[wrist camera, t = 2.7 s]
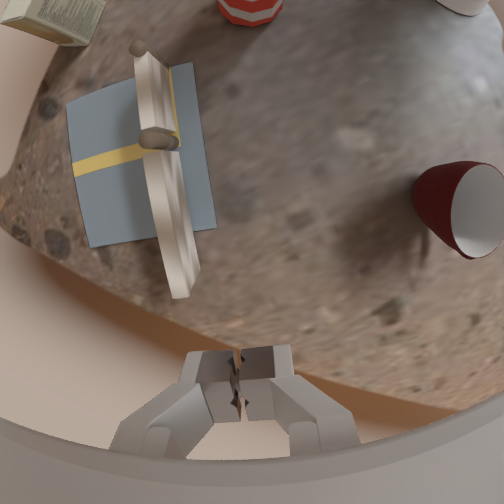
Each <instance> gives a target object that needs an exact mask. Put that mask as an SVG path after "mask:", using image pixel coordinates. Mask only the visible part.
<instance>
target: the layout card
mask: <svg viewBox="0 0 504 504" xmlns="http://www.w3.org/2000/svg"><path fill="white" fill-rule="evenodd" d="M168 73H169V82H170V90H171V99H172V106H173V114H174V121H175V128H176V132H172V133H168V134H167V135H171V136H175V137H177V138H178V140H179V145H178V147H177V148H176V149H175V150H160V149H143V148H142V147H140V145H139V143H138V138H139V136H140V134H141V133H142V132H144V131H145V130H141V125H140V117H139V109H138V100H137V90H136V80H135V77H134V78H131V79H128V80H125V81H122V82H119V83H116V84H113V85H110V86H108V87H105V88H102V89H100V90H97V91H94V92H92V93H89V94H87V95H85V96H82V97H80V98H78V99H75V100H73V101H71V102H68V103H66V110H67V122H68V133H69V142H70V150H71V157H72V166H73V172H74V177H75V182H76V188H77V193H78V198H79V203H80V208H81V213H82V217H83V221H84V226H85V230H86V234H87V238H88V242H89V246H90V248H93V247H99V246H104V245H110V244H116V243H122V242H128V241H134V240H140V239H147V238H153V237H158V236H157V232H156V227H155V222H154V218H153V213H152V208H151V203H150V197H149V192H148V187H147V181H146V175H145V169H144V163H143V157H142V155H143V154H147V153H151V152H155V151H175V152H179V155H180V162H181V168H182V174H183V180H184V186H185V192H186V197H187V203H188V209H189V214H190V219H191V225H192V230H193V231H199V230H206V229H213V228H217V221H216V215H215V209H214V203H213V197H212V191H211V185H210V178H209V172H208V166H207V159H206V153H205V146H204V140H203V133H202V126H201V119H200V112H199V105H198V98H197V90H196V83H195V75H194V67H193V62H189V63H185V64H180V65H176V66H172V67H169V71H168Z"/></svg>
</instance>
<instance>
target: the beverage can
mask: <svg viewBox="0 0 504 504" xmlns="http://www.w3.org/2000/svg"><path fill="white" fill-rule="evenodd" d="M217 3H218V7H219V10H220V13H221V14H222V15H223V16H225V17H226V18H227V19H228V20H229V21H230V22H231V23H233V24H239V25H245V26H250V27H254V26H257V25H260V24H263V23H267V22H270V21H272V20H273V19H274V17H275V16H276V15H277V14H278V13H279V11H280V10H281V9H282V3H283V0H217Z"/></svg>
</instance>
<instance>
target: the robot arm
mask: <svg viewBox="0 0 504 504" xmlns="http://www.w3.org/2000/svg"><path fill="white" fill-rule="evenodd" d="M437 1H438V2H439V3H441V4H442V5H444V6H446V7H447V8H449V9H451V10H453V11H455V12H457V13H460V14H463V15H468V16H473V15H477V14H479V13H480V12H481V10H482V9H483V7H484V6H485V5H486V4H487V3H488V2H489V1H490V0H437ZM241 360H242V364H241V365H240V369H238V368H237V355H236V351H235V350H234V349H231V350H212V351H194V352H193V351H192V352H189V353H188V354H187V356H186V359H185V362H184V365H183V368H182V371H181V374H180V377H179V380H178V383H177V384H172V385H171V386H169V387H168V388H167V389H165V390H164V391H163V392H161V393H160V394H159V395H157V396H156V397H155V398H153V399H152V400H151V401H149V402H148V403H146V404H145V405H144V406H142V407H141V408H140V409H138V410H137V411H135V412H134V413H133V414H131V415H130V416H128V417H127V418H126V419H124V420H123V421H121V422H120V424H119V427H118V429H117V431H116V433H115V436H114V438H113V441H112V443H111V445H110V447H109V449H108V450H107V449H101V448H97V447H92V446H88V445H84V444H79V443H75V442H72V441H68V440H64V439H60V438H57V437H53V436H50V435H47V434H44V433H41V432H38V431H35V430H32V429H29V428H26V427H24V426H21V425H18V424H16V423H13V422H11V421H8V420H6V419H3V418H1V417H0V504H504V390H503V391H502V392H500V393H498V394H496V395H494V396H492V397H490V398H488V399H486V400H484V401H482V402H480V403H478V404H476V405H474V406H472V407H469V408H467V409H465V410H463V411H461V412H458V413H456V414H453V415H451V416H449V417H446V418H444V419H441V420H439V421H436V422H433V423H431V424H428V425H425V426H422V427H419V428H416V429H414V430H411V431H408V432H404V433H401V434H398V435H394V436H391V437H387V438H384V439H380V440H376V441H372V442H368V443H364V444H361V442H360V439H359V435H358V432H357V429H356V425H355V422H354V419H353V416H352V413H351V412H350V411H349V410H347V409H346V408H344V407H343V406H341V405H340V404H339V403H337V402H336V401H334V400H333V399H332V398H330V397H329V396H327V395H326V394H325V393H323V392H322V391H320V390H319V389H318V388H316V387H315V386H313V385H312V384H311V383H309V382H308V381H307V380H305V379H304V378H303V377H301V376H300V375H295V376H294V369H293V363H292V356H291V350H290V344H289V343H283V344H276V345H272V346H264V347H255V348H246V349H241ZM241 397H243V398H244V399H245V409H246V413H247V417H248V420H249V421H257V420H274V419H276V421H277V422H278V423H279V425H280V426H281V427H282V428H283V429H284V430H285V431H286V432H287V434H288V435H289V441H290V456H289V457H280V458H267V459H251V460H190V459H189V460H188V459H186V456H187V455H188V454H189V453H190V452H191V451H192V449H193V448H194V447H195V446H196V445H197V444H198V443H199V441H200V440H201V439H202V438H203V437H204V436H205V434H206V433H207V432H208V431H209V430H210V428H211V427H212V426H213V425H214V423H224V422H239V421H241V402H240V398H241Z"/></svg>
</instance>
